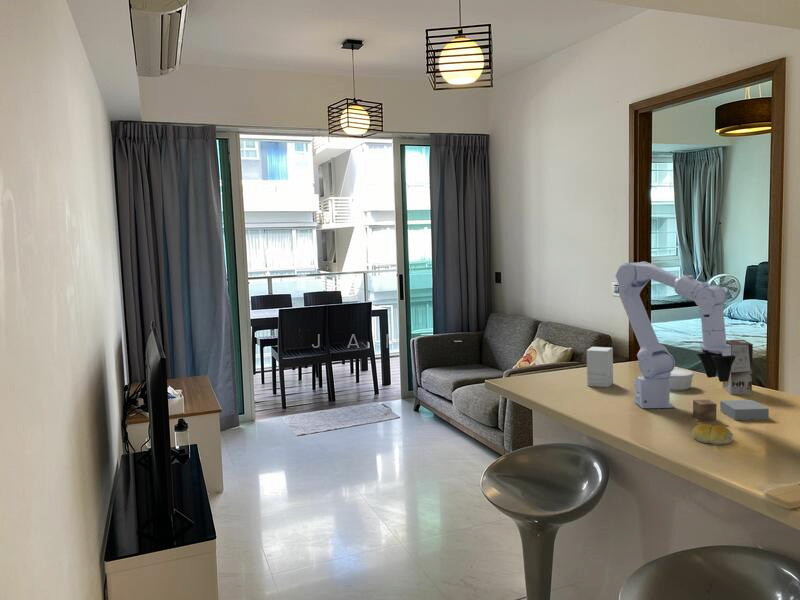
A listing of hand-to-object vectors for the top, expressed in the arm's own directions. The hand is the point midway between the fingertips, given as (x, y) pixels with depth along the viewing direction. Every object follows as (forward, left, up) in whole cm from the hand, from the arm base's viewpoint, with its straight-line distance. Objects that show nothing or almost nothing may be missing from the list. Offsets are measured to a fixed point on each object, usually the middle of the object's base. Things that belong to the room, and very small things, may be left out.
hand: (717, 379), depth 175 cm
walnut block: (-3, +1, -12) cm, 12 cm away
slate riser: (+9, +4, -11) cm, 15 cm away
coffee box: (+19, +30, -12) cm, 37 cm away
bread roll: (-8, -16, -12) cm, 22 cm away
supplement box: (-21, +43, -12) cm, 49 cm away
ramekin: (+2, +37, -12) cm, 38 cm away
